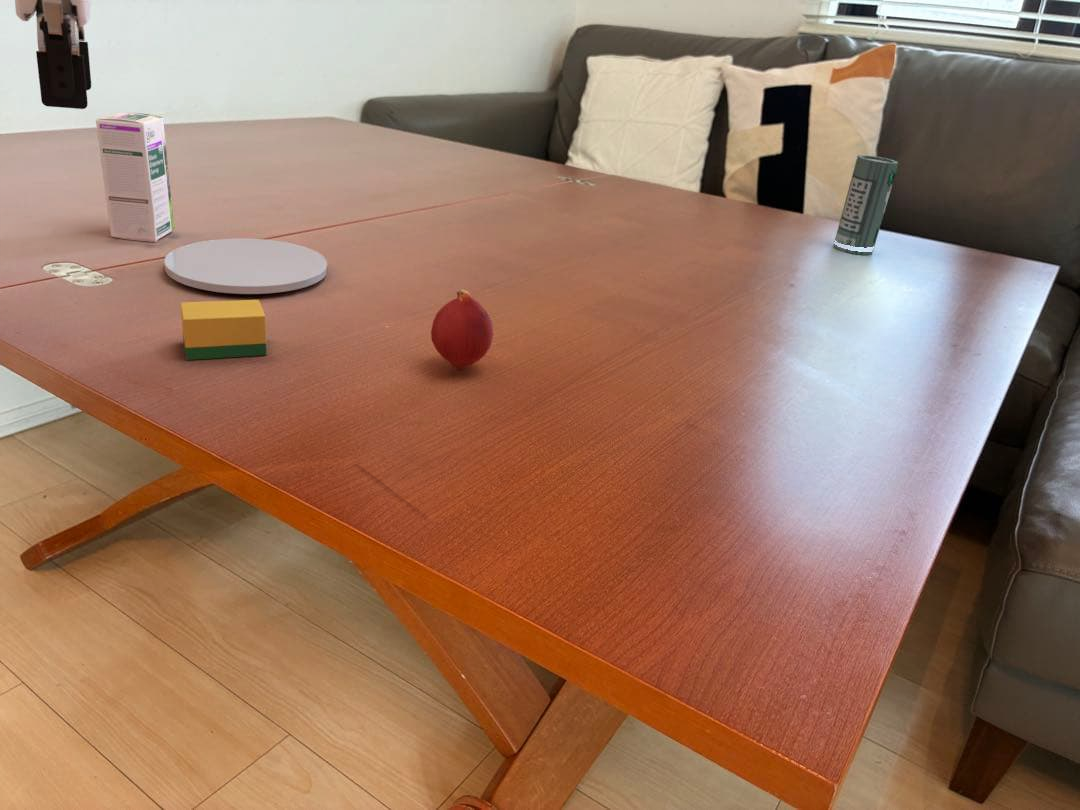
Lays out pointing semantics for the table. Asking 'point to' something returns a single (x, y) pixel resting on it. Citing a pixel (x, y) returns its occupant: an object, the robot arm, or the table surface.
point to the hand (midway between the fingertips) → (68, 97)
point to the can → (866, 202)
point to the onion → (462, 331)
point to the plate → (245, 266)
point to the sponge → (223, 329)
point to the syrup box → (135, 176)
